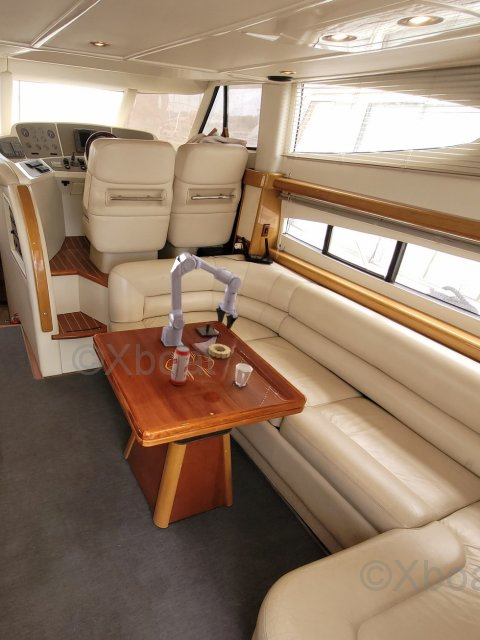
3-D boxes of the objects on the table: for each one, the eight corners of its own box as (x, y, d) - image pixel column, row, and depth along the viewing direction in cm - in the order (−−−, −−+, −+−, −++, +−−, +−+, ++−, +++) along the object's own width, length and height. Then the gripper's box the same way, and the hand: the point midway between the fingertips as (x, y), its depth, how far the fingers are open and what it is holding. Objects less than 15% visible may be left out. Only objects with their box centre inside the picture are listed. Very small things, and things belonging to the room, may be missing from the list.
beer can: (185, 379, 164) (190, 345, 156) (185, 387, 158) (190, 353, 150) (170, 377, 164) (175, 343, 156) (170, 385, 159) (174, 351, 151)
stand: (202, 337, 201) (204, 327, 198) (195, 329, 209) (197, 320, 206) (218, 336, 204) (219, 326, 201) (211, 329, 211) (212, 319, 208)
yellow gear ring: (213, 359, 181) (214, 354, 180) (204, 348, 190) (205, 344, 189) (233, 357, 184) (234, 353, 183) (224, 347, 193) (224, 343, 192)
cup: (248, 381, 167) (253, 365, 163) (248, 393, 158) (252, 376, 154) (232, 377, 168) (236, 361, 164) (231, 389, 159) (235, 373, 155)
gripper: (245, 304, 181) (239, 330, 188) (228, 293, 193) (222, 318, 199) (232, 305, 179) (227, 332, 185) (216, 294, 190) (211, 320, 197)
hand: (224, 325), depth 192 cm, fingers open, 7 cm apart
